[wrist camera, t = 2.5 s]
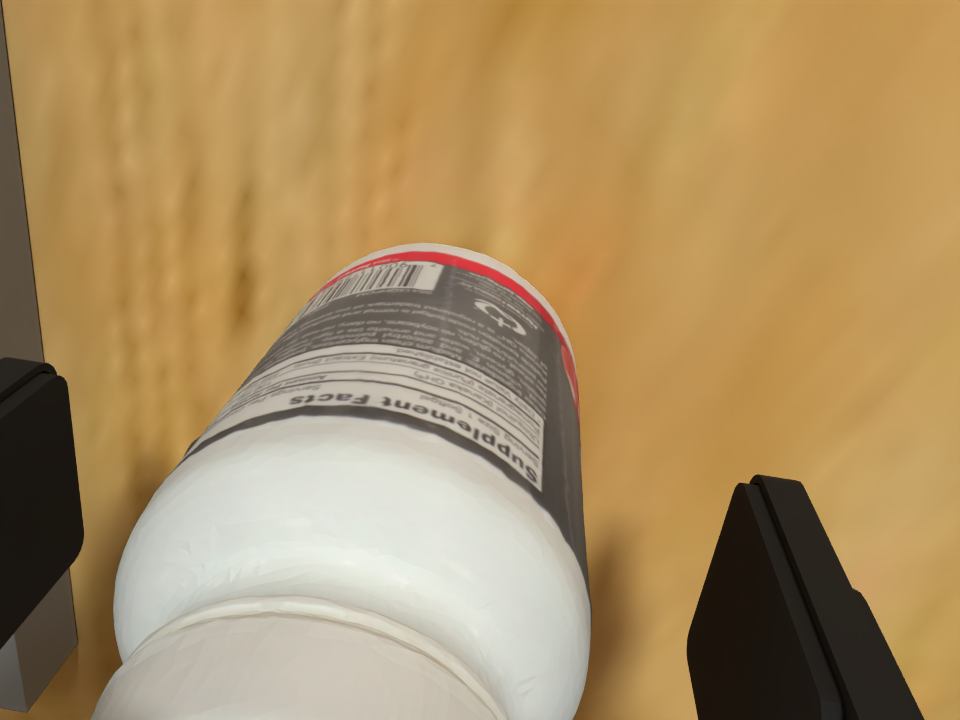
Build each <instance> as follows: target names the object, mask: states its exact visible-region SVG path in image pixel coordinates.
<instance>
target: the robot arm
mask: <svg viewBox="0 0 960 720" xmlns="http://www.w3.org/2000/svg"><path fill="white" fill-rule="evenodd" d="M83 539H84V528H83V519H82V510H81V501H80V492H79V483H78V474H77V465H76V456H75V447H74V438H73V429H72V420H71V411H70V402H69V393H68V386H67V382H66V380H65V379H64V378H63V377H62V376H58V375H57V372H56V371H55V369H54V367H53V366H52V365H50V364H49V363H43V362H36V361H30V360H24V359H17V358H11V357H4V358H2V359H0V650H1V648H2V647H3V646H4V645H5V644H6V642H7V641H8V640H9V639H10V638H11V636H12V635H13V634H14V633H15V632H16V630H17V629H18V628H19V627H20V626H21V624H22V623H23V622H24V621H25V620H26V618H27V617H28V616H29V615H30V614H31V612H32V611H33V610H34V609H35V608H36V606H37V605H38V604H39V603H40V602H41V600H42V599H43V598H44V597H45V596H46V594H47V593H48V592H49V591H50V590H51V588H52V587H53V586H54V585H55V584H56V582H57V581H58V580H59V579H60V578H61V576H62V575H63V574H64V573H65V572H66V570H67V569H68V568H69V567H70V566H71V564H72V563H73V562H74V561H75V559H76V558H77V556H78V555H79V552H80V550H81V547H82V544H83ZM687 661H688V666H689V672H690V677H691V682H692V688H693V693H694V699H695V704H696V709H697V715H698V720H924V718H923V716H922V714H921V712H920V710H919V708H918V706H917V703H916V701H915V699H914V697H913V695H912V693H911V691H910V689H909V687H908V685H907V683H906V681H905V679H904V677H903V675H902V673H901V671H900V669H899V667H898V665H897V663H896V661H895V659H894V657H893V654H892V652H891V650H890V648H889V646H888V644H887V642H886V640H885V638H884V636H883V634H882V632H881V630H880V628H879V626H878V624H877V622H876V620H875V618H874V616H873V614H872V612H871V610H870V607H869V605H868V603H867V601H866V600H865V599H864V597H863V596H862V594H861V593H860V592H858V591H857V590H855V589H853V588H852V587H851V585H850V582H849V580H848V578H847V576H846V574H845V572H844V570H843V568H842V566H841V564H840V561H839V559H838V557H837V555H836V553H835V551H834V549H833V547H832V545H831V543H830V541H829V538H828V536H827V534H826V532H825V530H824V528H823V526H822V524H821V522H820V520H819V517H818V515H817V513H816V511H815V509H814V507H813V505H812V503H811V501H810V499H809V496H808V494H807V492H806V490H805V488H804V486H803V485H802V483H801V482H799V481H796V480H790V479H783V478H777V477H771V476H764V475H758V474H757V475H755V476H753V478H752V479H751V481H750V483H749V484H746V483H739V484H738V485H737V486H736V487H735V490H734V492H733V495H732V499H731V502H730V505H729V508H728V511H727V514H726V517H725V520H724V524H723V527H722V530H721V533H720V536H719V539H718V542H717V545H716V548H715V552H714V555H713V558H712V561H711V564H710V567H709V570H708V573H707V577H706V580H705V583H704V586H703V589H702V592H701V595H700V598H699V601H698V605H697V608H696V611H695V614H694V617H693V620H692V623H691V626H690V630H689V634H688V639H687Z"/></svg>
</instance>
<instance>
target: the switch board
mask: <svg viewBox="0 0 960 720" xmlns="http://www.w3.org/2000/svg"><path fill="white" fill-rule="evenodd" d="M4 357H11V358H17V359H24V360H30V361H36V362H43V363H44V360H43V351H42V343H41V335H40V326H39V318H38V310H37V301H36V293H35V285H34V276H33V268H32V260H31V251H30V243H29V235H28V226H27V218H26V210H25V201H24V193H23V185H22V176H21V168H20V160H19V151H18V143H17V135H16V126H15V118H14V110H13V101H12V93H11V85H10V76H9V68H8V60H7V51H6V43H5V35H4V26H3V18H2V10H1V1H0V359H2V358H4ZM77 644H78V643H77V635H76V627H75V618H74V610H73V602H72V593H71V585H70V577H69V568H68V569H67V570H66V572H65V573H64V574H63V575H62V576H61V578H60V579H59V580H58V581H57V582H56V584H55V585H54V586H53V587H52V588H51V590H50V591H49V592H48V593H47V594H46V596H45V597H44V598H43V599H42V600H41V602H40V603H39V604H38V605H37V606H36V608H35V609H34V610H33V611H32V612H31V614H30V615H29V616H28V617H27V618H26V620H25V621H24V622H23V623H22V624H21V626H20V627H19V628H18V629H17V630H16V632H15V633H14V634H13V635H12V636H11V638H10V639H9V640H8V641H7V642H6V644H5V645H4V646H3V647H2V648H1V650H0V708H2V709H8V710H14V711H20V712H26V713H27V712H28V711H29V709H30V708H31V707H32V705H33V704H34V703H35V701H36V700H37V699H38V697H39V696H40V694H41V693H42V692H43V690H44V689H45V688H46V686H47V685H48V683H49V682H50V681H51V679H52V678H53V677H54V675H55V674H56V673H57V671H58V670H59V668H60V667H61V666H62V664H63V663H64V662H65V660H66V659H67V657H68V656H69V655H70V653H71V652H72V651H73V649H74V648H75V647H76V645H77Z"/></svg>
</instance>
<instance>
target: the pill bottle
mask: <svg viewBox="0 0 960 720" xmlns="http://www.w3.org/2000/svg"><path fill="white" fill-rule="evenodd" d="M113 614H114V628H115V635H116V640H117V645H118V650H119V654H120V657H121V660H122V663H123V665H122V666H121V667H120V668H119V669H118V670H117V671H116V672H115V673H114V675H113V676H112V678H111V679H110V681H109V682H108V684H107V686H106V688H105V689H104V691H103V693H102V695H101V697H100V698H99V700H98V702H97V705H96V707H95V710H94V713H93V715H92V717H91V719H90V720H573V718H574V716H575V713H576V711H577V709H578V706H579V703H580V700H581V697H582V694H583V691H584V687H585V682H586V677H587V671H588V662H589V654H590V639H591V626H592V607H591V600H590V592H589V578H588V567H587V559H586V542H585V528H584V515H583V493H582V476H581V443H580V412H579V394H578V383H577V373H576V366H575V359H574V354H573V350H572V346H571V344H570V341H569V338H568V336H567V333H566V331H565V329H564V327H563V325H562V323H561V321H560V319H559V317H558V315H557V314H556V312H555V311H554V309H553V308H552V307H551V305H550V304H549V303H548V302H547V300H546V299H545V298H544V297H543V296H542V295H541V294H540V293H539V292H538V291H537V290H536V289H535V288H534V287H533V286H532V285H531V284H530V283H529V282H528V281H526V280H525V279H524V278H522V277H521V276H519V275H518V274H517V273H516V272H515V271H514V270H513V269H512V268H510V267H508V266H506V265H504V264H503V263H501V262H499V261H497V260H496V259H494V258H491V257H489V256H487V255H484V254H482V253H478V252H474V251H471V250H468V249H463V248H459V247H455V246H449V245H444V244H434V243H415V244H406V245H400V246H395V247H391V248H387V249H383V250H380V251H376V252H373V253H371V254H369V255H367V256H365V257H363V258H361V259H358V260H356V261H354V262H353V263H351V264H349V265H348V266H346V267H345V268H343V269H342V270H341V271H339V272H338V273H337V274H335V275H334V276H333V277H332V278H330V279H329V280H328V281H327V282H326V283H325V284H324V285H323V286H322V287H321V288H320V289H319V290H318V291H317V292H316V294H315V295H314V296H313V297H312V298H311V299H310V300H309V301H308V303H307V304H306V305H305V306H304V307H303V308H302V309H301V311H300V312H299V313H298V314H297V316H296V317H295V318H294V319H293V321H292V322H291V323H290V324H289V326H288V327H287V328H286V330H285V331H284V333H283V334H282V335H281V336H280V337H279V339H278V340H277V341H276V342H275V343H274V344H273V346H272V347H271V348H270V350H269V351H268V352H267V354H266V355H265V356H264V357H263V359H262V360H261V361H260V362H259V363H258V364H257V366H256V367H255V368H254V370H253V371H252V372H251V374H250V375H249V376H248V378H247V379H246V380H245V382H244V383H243V384H242V385H241V387H240V388H239V389H238V390H237V392H236V393H235V394H234V395H233V397H232V398H231V399H230V400H229V401H228V403H227V404H226V405H225V406H224V407H223V409H222V410H221V411H220V413H219V414H218V415H217V417H216V418H215V419H214V420H213V421H212V423H211V424H210V425H209V426H208V428H207V429H206V431H205V432H204V433H203V434H202V435H201V436H200V437H199V438H197V439H196V440H195V441H194V442H193V443H192V444H191V445H190V446H189V448H188V449H187V451H186V453H185V455H184V457H183V459H182V460H181V461H180V463H179V464H178V465H177V466H176V468H175V469H174V470H173V471H172V473H171V474H170V475H169V476H168V477H167V478H166V479H165V480H164V481H163V483H162V484H161V485H160V487H159V488H158V489H157V490H156V492H155V493H154V495H153V497H152V498H151V500H150V502H149V504H148V505H147V507H146V509H145V510H144V512H143V513H142V515H141V516H140V518H139V519H138V521H137V523H136V525H135V527H134V529H133V531H132V532H131V535H130V537H129V539H128V542H127V544H126V546H125V549H124V552H123V555H122V558H121V561H120V564H119V568H118V572H117V576H116V581H115V592H114V604H113Z"/></svg>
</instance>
